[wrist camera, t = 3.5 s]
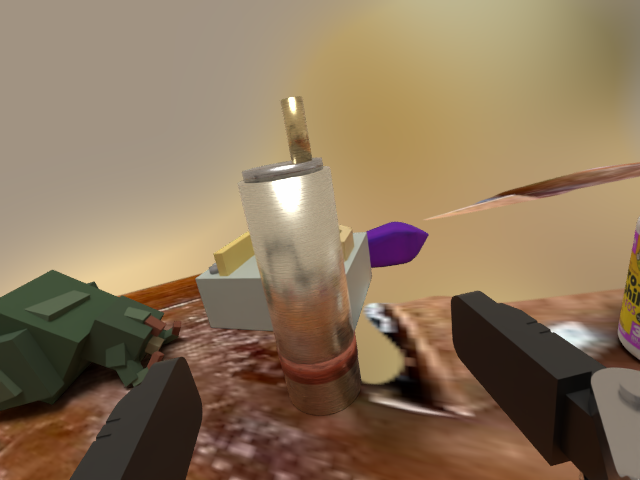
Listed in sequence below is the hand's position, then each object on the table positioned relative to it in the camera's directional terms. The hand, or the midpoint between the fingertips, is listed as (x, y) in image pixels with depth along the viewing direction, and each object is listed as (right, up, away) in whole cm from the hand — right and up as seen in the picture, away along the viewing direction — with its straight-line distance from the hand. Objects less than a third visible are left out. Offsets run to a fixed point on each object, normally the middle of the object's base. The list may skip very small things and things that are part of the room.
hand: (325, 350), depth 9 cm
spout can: (0, -8, +14) cm, 16 cm away
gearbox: (-5, -4, +28) cm, 29 cm away
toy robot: (-23, -10, +20) cm, 32 cm away
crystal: (+8, 0, +34) cm, 35 cm away
